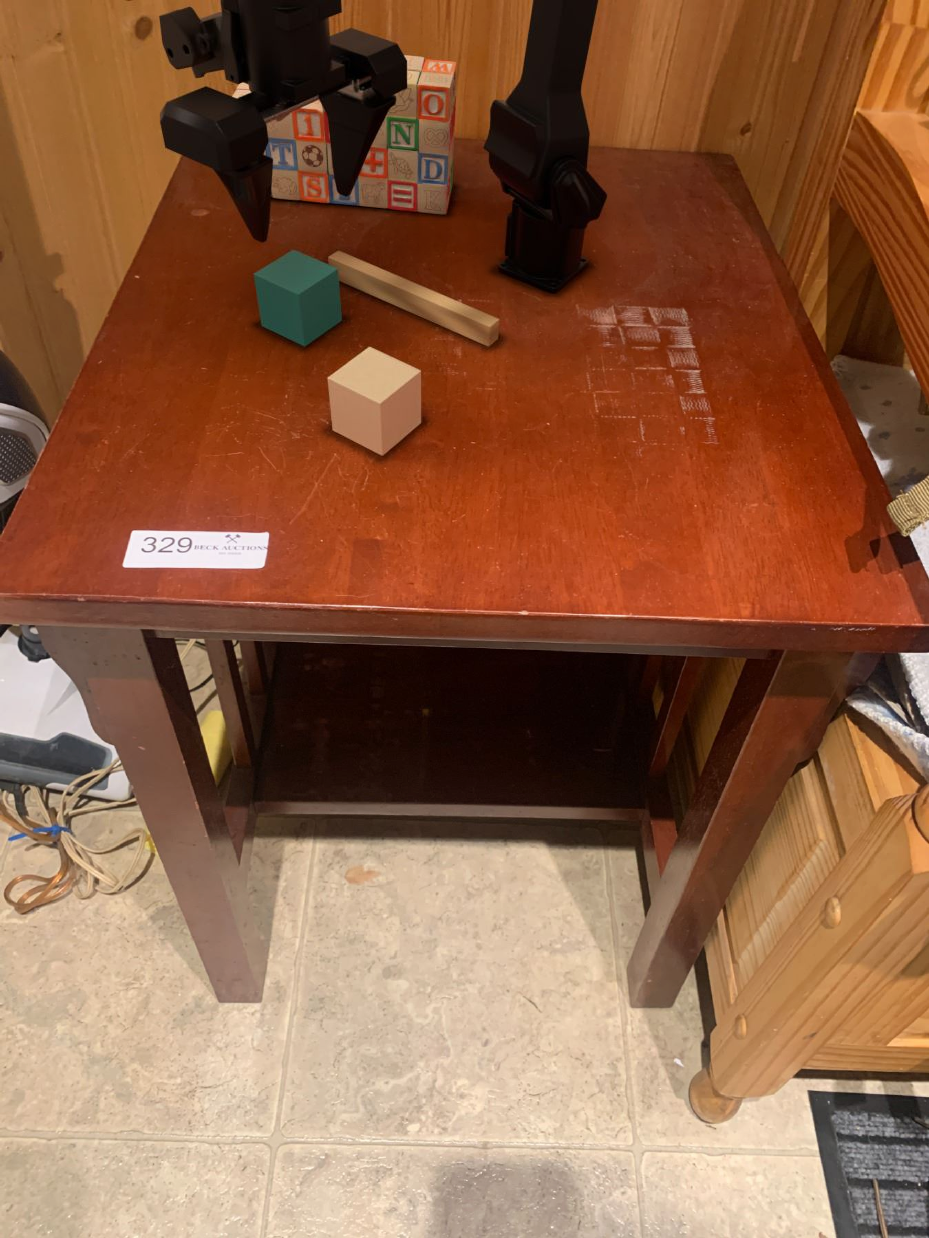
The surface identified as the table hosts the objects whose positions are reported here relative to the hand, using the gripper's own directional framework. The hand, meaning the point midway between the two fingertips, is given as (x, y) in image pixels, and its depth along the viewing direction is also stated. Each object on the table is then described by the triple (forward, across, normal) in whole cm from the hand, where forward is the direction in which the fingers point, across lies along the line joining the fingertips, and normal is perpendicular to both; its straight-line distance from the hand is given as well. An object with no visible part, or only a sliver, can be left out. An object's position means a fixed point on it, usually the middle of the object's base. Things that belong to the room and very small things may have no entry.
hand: (303, 216), depth 69 cm
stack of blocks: (+12, -23, -16) cm, 30 cm away
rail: (+12, -10, +2) cm, 16 cm away
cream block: (+12, +4, +11) cm, 16 cm away
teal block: (+12, -2, -4) cm, 13 cm away
